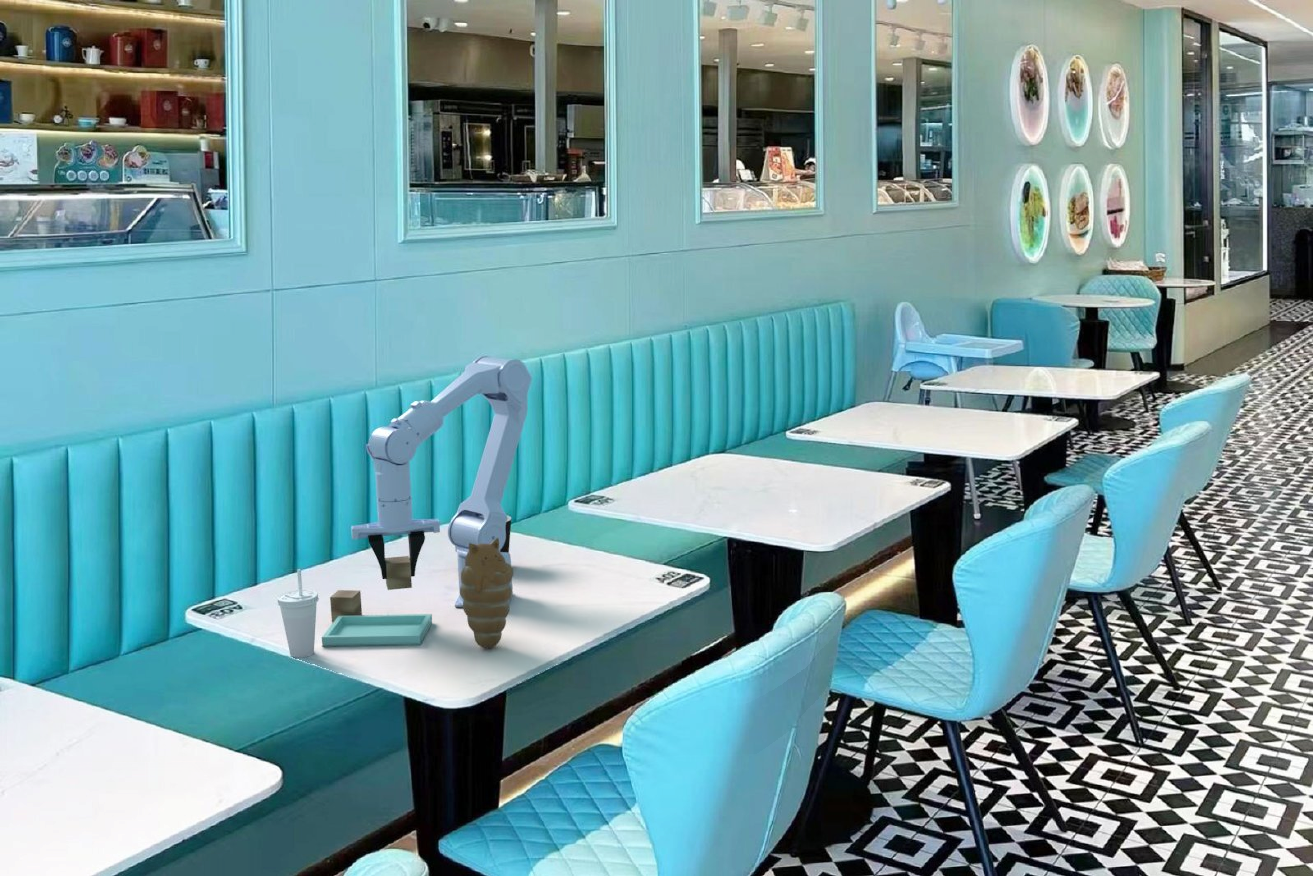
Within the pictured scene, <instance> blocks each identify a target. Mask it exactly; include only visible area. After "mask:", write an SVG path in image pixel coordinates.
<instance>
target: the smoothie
mask: <svg viewBox="0 0 1313 876" xmlns="http://www.w3.org/2000/svg"><path fill="white" fill-rule="evenodd" d="M296 571H297V572H296V573H297V585H298V590H291V591H287V592H286V591H285V592H283V593H281V594H279V596H278V597H277V598H276V599H277V603H276V604H277V606H279V608H280V613H281V617H282V622H283V627H284V631H285V636H286V641H287V645H288V649H289V651H288V652H289V655H290V657H293V658H305V657H309V656H310V657H311V656H312V655H313V654H314V653H315V641H316V640H315V639H316V637H315V636H316V622H317V604H318V601H319V599H320V598H319V594H318V592H317V591H314V590H309V589H303V582H302V569H301V568H299V569H296Z"/></svg>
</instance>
